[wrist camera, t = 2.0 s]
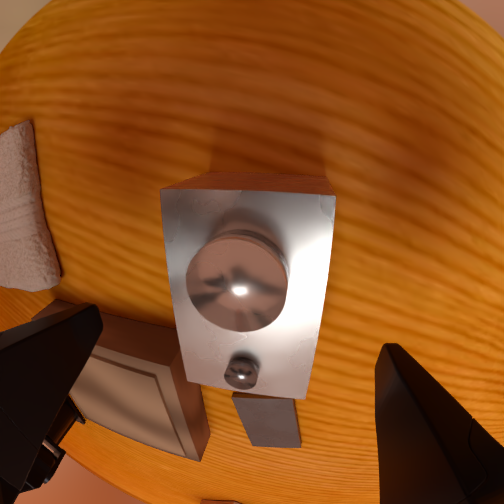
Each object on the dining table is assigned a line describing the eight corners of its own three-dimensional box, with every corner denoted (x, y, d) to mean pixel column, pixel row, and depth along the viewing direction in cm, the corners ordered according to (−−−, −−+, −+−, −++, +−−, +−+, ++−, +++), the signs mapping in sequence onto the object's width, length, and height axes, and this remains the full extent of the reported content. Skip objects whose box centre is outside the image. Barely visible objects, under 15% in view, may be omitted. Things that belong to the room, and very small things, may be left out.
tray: (210, 434, 20) (199, 464, 17) (100, 398, 22) (84, 419, 19) (190, 331, 15) (167, 370, 12) (55, 299, 18) (29, 320, 15)
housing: (309, 333, 14) (302, 418, 9) (217, 322, 15) (178, 397, 10) (325, 176, 11) (340, 204, 6) (209, 171, 12) (142, 196, 7)
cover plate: (302, 438, 19) (300, 447, 18) (254, 436, 20) (252, 445, 19) (293, 387, 16) (292, 398, 16) (235, 386, 17) (231, 397, 17)
